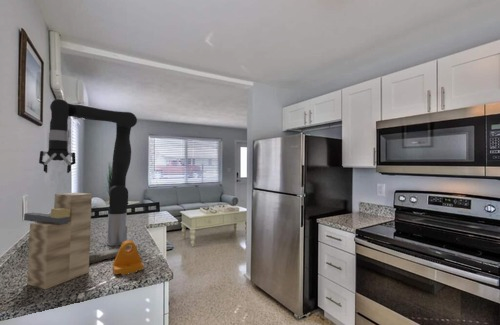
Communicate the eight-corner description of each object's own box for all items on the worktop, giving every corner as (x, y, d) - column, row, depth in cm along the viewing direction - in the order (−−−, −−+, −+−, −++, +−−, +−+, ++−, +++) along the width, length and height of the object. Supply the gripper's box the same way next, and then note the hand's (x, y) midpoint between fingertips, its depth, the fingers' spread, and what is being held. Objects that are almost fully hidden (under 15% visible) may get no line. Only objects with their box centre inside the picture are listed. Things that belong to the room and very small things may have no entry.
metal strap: (22, 220, 97) (23, 206, 97) (34, 218, 100) (35, 204, 100) (57, 225, 90) (58, 209, 90) (69, 223, 93) (70, 208, 94)
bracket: (114, 276, 99) (115, 246, 100) (112, 270, 105) (113, 241, 106) (143, 271, 105) (144, 242, 106) (140, 265, 111) (141, 238, 112)
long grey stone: (141, 256, 127) (132, 252, 134) (141, 245, 128) (133, 242, 134) (55, 272, 101) (50, 266, 108) (56, 258, 102) (51, 254, 109)
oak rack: (27, 284, 91) (31, 195, 92) (71, 268, 106) (74, 192, 107) (45, 289, 88) (49, 197, 89) (88, 272, 103) (91, 193, 104)
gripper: (39, 138, 117) (38, 173, 117) (76, 140, 126) (75, 173, 126) (39, 139, 123) (38, 172, 122) (75, 141, 132) (74, 172, 131)
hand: (57, 172), depth 124 cm, fingers open, 8 cm apart
